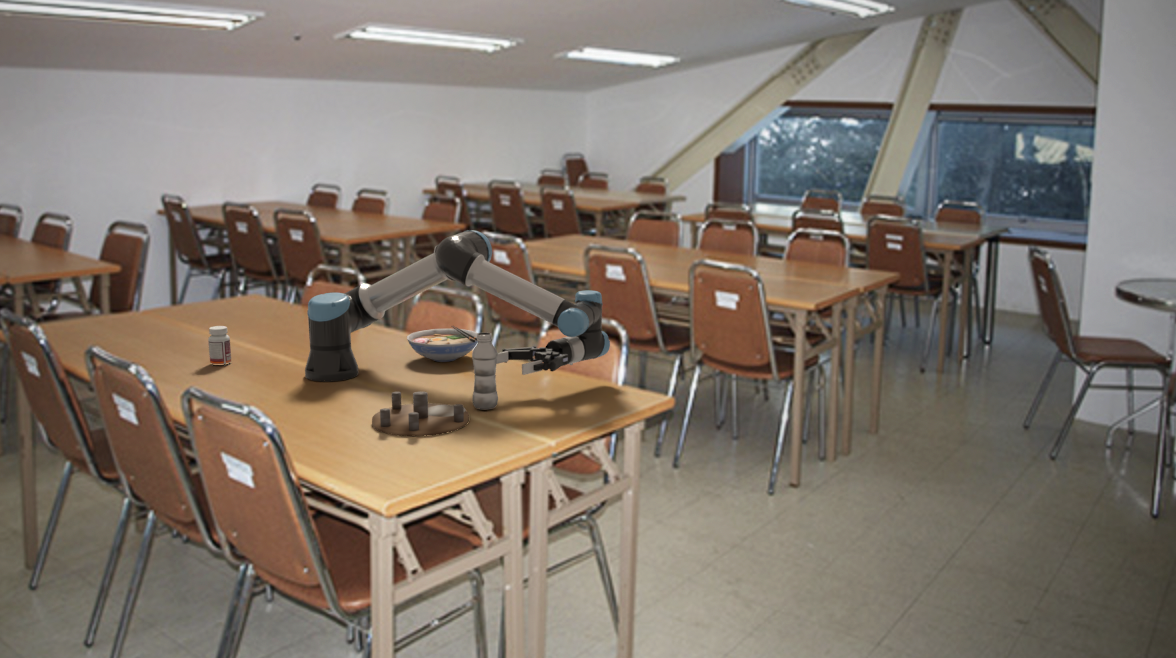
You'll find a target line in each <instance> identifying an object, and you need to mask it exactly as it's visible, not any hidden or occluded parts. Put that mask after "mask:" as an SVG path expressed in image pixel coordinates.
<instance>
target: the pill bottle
mask: <svg viewBox="0 0 1176 658" xmlns="http://www.w3.org/2000/svg"><path fill="white" fill-rule="evenodd" d="M208 329H209V330H208V331H209V333H208V334H209V335H210V336H209V337H208V339H207V341H208V352H209V353H208V354H209V363H212V364H226V363H230V362H231V363H232V353H231V352H232V351H231V348H232V347H231V337H230V335H228V327H227V326H224V325H216V326H215V325H214V326H210V327H209V328H208ZM231 363H230V364H231Z"/></svg>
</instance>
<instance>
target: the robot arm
mask: <svg viewBox="0 0 1176 658" xmlns="http://www.w3.org/2000/svg"><path fill="white" fill-rule="evenodd" d="M492 255H493V247H492V243H491V241H490V240H489V238H488V237H487V236H486V235H485V234H484V233H483V232H480V231H478V230H472V229H471V230H470V229H469V230H468V229H467V230H463V232H459V233H457V234H453V235H450V236H448V237H445V238H444V239H443V240H442V241H440V242H439V243H438V244H437V245H435V247H434V250H433V253H431V254H429V255H427V256H425V257H423V258H421V259H420V260H418V261H415V262H414V263H412V264H409V265H408V266H406V267H404V268H401V269H400V270H398V271H396V272H395V273H393V274H391V275H389V276H386V277H385V278H383V279H381V280H378V281H377V282H375V283H373V284H370V283H367V282H366V283H362V284H360V285H357V286H356V287H354V288H353V289H350V290H349V291H347V292H344V293H342V292H326V293H321V294H317V295H315V296H313V297H311V298H310V299H309V301H308V302H307V313H306V314H307V323H308V333H309V335H308V336H309V354H308V357H307V361H306V364H305V368H304V374H305V375H304V377H305V379H307V380H309V381H314V382H339V381H346V380H350V379H353V378H355V377H357V376H358V375H359V373H360V372H359V365H358V363H357V360H356V357H355V354H354V351H353V350H352V335H351V333H354V332H356V331H358V330H361V329H364V328H367V327H369V326H372V324H374V323H375V322H377V321H378V320H380V319H382V318H383V317H384V316H385V313H386V311H387V310H389V309H391V308H394V307H395V306H398V305H399V304H401V303H403V302H405V301H408V300H409V299H411V298H413V297H415V296H417V295H420V294H421V293H424V292H425V291H427V290H429V289H431V288H433V287H435V286H437V285H439V284H441V283H444V282H445V281H447V280H448V281H451V282H458V283H459V284H463V285H464V286H465V287H471V286H475V287H476V288H478V289H480V290H483V291H485V292H487V293H489V294H491V295H493V296H495V297H497V298H499V299H500V300H503V301H505V302H507V303H509V304H511V305H513V306H515V307H516V308H517V307H518V308H519V309H521V310H523V311H525V312H527V313H529V314H531V315H533V316H535V317H537V318H540V319H541V320H543V321H545V322H547V323H549V324H552V325H553V326H555V327H557V328H558V330H559V331H560V332H561V333H562V335H563V336H564V337H561V338H557V339H552V340H549V341H548V343H547V344H546V346H545V347H544V346H541V347H538V348H537V346H536V345H533V346H528V347H527V346H525V347H513V348H502V350H501V351H500V352H497V353H498V357H497V364H496V365H499V364H504V363H506V364H507V363H508V362H509V361H526V360H527V361H528V360H529V361H528V362H526V363H522V364H521V375H523V376H527V375H529V374H534V373H537V372H541V371H546V372H547V371H549V372H551V373H552V372H555V371H557V369H559V368H561V367H564V366H566V365H567V366H568V365H570V366H573V365H574V364H575V363H579V362H583V361H588V360H594V359H597V358H600V357H602V356H605V355H606V354H607V353H608V352H609V351H610V347H611V341H610V339H609V336H608V334H607V333H606V332H605V331H603V328H602V327H603V325H602V323H603V306H604V305H603V297H602V296H603V295H602V293H601V292H600V291H597V290H588V289H587V290H579V291H577V292H576V293H575V300H574V303H573V302H571V301H569V300H568V299H567V300H566V299H565V298H563V297H561V296H559V295H557V294H555V293H553V292H551V291H549V290H547V289H544V288H543V287H540V286H538V285H536V284H535V283H532V282H530V281H529V280H527V279H524V278H522V277H520V276H519V275H516V274H514V273H512V272H510V271H508V270H505V269H503V268H502V267H500V266H498V265H495V264H494V263H491V260H492Z"/></svg>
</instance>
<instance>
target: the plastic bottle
mask: <svg viewBox="0 0 1176 658" xmlns="http://www.w3.org/2000/svg"><path fill="white" fill-rule="evenodd" d="M477 333H478V334H477V341H478V343H477V344H476V346H475V347H474V348H473V350H472V353H471V356H472V357H471V358H472V364H473V374H474V381H473V382H474V383H473V393H472V399H471V401H472V405H473V407H474V408H475V409H477V410H493V409H495V408H496V407H497V406H498V401H499V396H498V395H499V394H498V391H497V380H496V378H497V377H496V376H497V375H496V374H497V365H498V364H497V357H498V353H499V352H498V351H497V348H496V347H495V346H494V344H493V343H492V342H493V338H492V337H493V335H492V333H491V332H488V331H487V332H477Z"/></svg>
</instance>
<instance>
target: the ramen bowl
mask: <svg viewBox="0 0 1176 658" xmlns="http://www.w3.org/2000/svg"><path fill="white" fill-rule="evenodd" d="M478 333H479V332H476V331H474V330H468V329H465V328H464V329H463V328H459V327H457V326H454V325H451V328H433V329H427V330H426V329H425V330H420V331H419V330H418V331H414V332H411V333H410V334H407V336H406V341H407V342H408V344H409V345H410V347H411V348H412V349H413V350H414V352H415V353H417V354H418V355H419V356H421V357H424V358H427V359H429V360H431V361H434V362H438V363H447V362H453V361H456V360H457V359H459V358H462V357H464V356H466V355H468V354H469V353H470V352H471V351H472V352H473V350H474V348H475V347H476V345H477V344H478V341H477V334H478Z"/></svg>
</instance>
